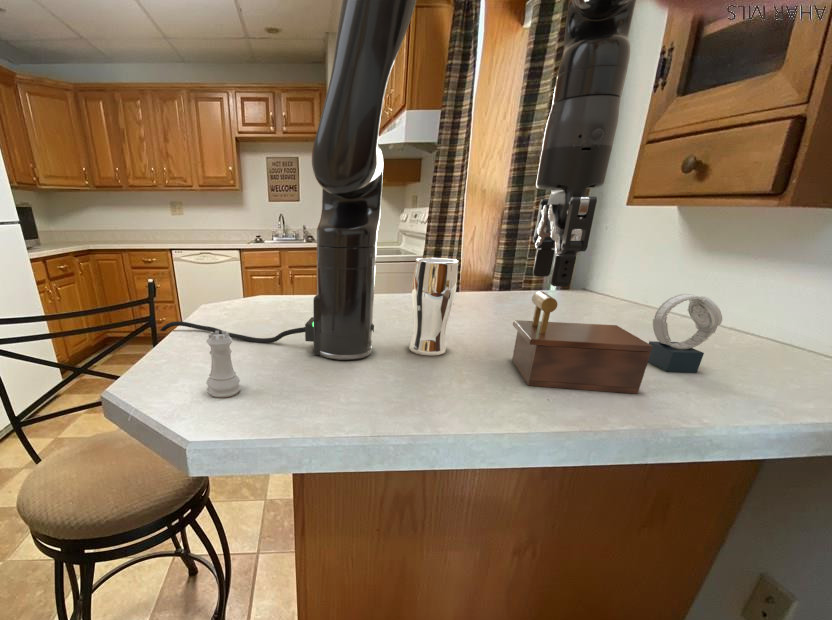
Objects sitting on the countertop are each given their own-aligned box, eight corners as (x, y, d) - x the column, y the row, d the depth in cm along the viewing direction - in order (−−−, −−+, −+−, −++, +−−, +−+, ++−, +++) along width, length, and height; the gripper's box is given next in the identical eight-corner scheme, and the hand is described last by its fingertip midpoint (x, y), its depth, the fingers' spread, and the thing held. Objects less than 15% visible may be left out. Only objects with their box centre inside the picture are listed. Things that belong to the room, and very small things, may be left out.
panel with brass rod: (529, 344, 56) (538, 301, 54) (512, 324, 66) (519, 287, 64) (651, 352, 54) (665, 306, 51) (615, 330, 63) (626, 291, 61)
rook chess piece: (224, 401, 53) (219, 340, 50) (199, 393, 55) (192, 334, 52) (248, 389, 57) (244, 331, 54) (223, 382, 59) (218, 326, 56)
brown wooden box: (528, 385, 58) (536, 345, 56) (511, 360, 68) (518, 325, 66) (637, 394, 56) (651, 352, 54) (604, 366, 66) (615, 330, 63)
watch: (710, 373, 63) (739, 299, 59) (654, 371, 64) (678, 298, 60) (683, 360, 68) (708, 292, 64) (631, 359, 69) (652, 291, 65)
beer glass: (403, 353, 71) (410, 261, 65) (410, 342, 77) (418, 257, 71) (445, 358, 69) (457, 263, 63) (450, 346, 75) (461, 259, 69)
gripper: (528, 153, 59) (509, 273, 65) (561, 138, 46) (533, 289, 52) (588, 152, 57) (562, 274, 64) (639, 135, 44) (600, 291, 51)
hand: (549, 280), depth 58 cm, fingers open, 8 cm apart
